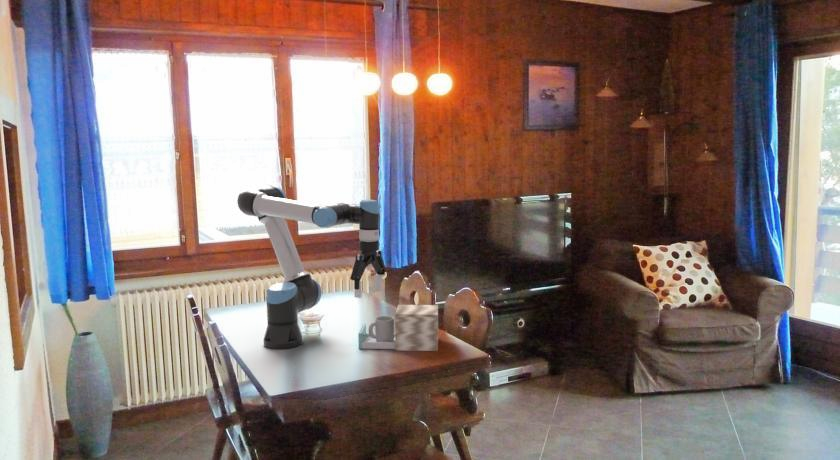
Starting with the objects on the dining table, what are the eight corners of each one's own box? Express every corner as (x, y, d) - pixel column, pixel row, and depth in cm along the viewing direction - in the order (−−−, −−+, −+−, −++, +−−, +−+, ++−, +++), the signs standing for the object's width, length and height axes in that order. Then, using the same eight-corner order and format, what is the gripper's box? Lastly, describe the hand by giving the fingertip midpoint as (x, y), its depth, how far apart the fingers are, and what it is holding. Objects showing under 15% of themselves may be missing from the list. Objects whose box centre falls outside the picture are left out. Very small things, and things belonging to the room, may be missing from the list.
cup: (396, 342, 252) (395, 319, 251) (371, 344, 249) (370, 322, 248) (391, 337, 259) (390, 315, 258) (366, 339, 256) (366, 317, 255)
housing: (395, 350, 247) (395, 314, 245) (398, 338, 262) (398, 304, 260) (437, 350, 246) (437, 314, 244) (438, 339, 261) (438, 305, 259)
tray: (358, 348, 248) (358, 333, 248) (363, 338, 261) (362, 324, 261) (407, 349, 248) (407, 333, 247) (409, 339, 260) (409, 324, 260)
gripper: (357, 245, 237) (357, 301, 240) (395, 237, 258) (394, 289, 261) (341, 243, 241) (340, 298, 244) (379, 235, 262) (378, 287, 265)
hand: (368, 294), depth 253 cm, fingers open, 13 cm apart
